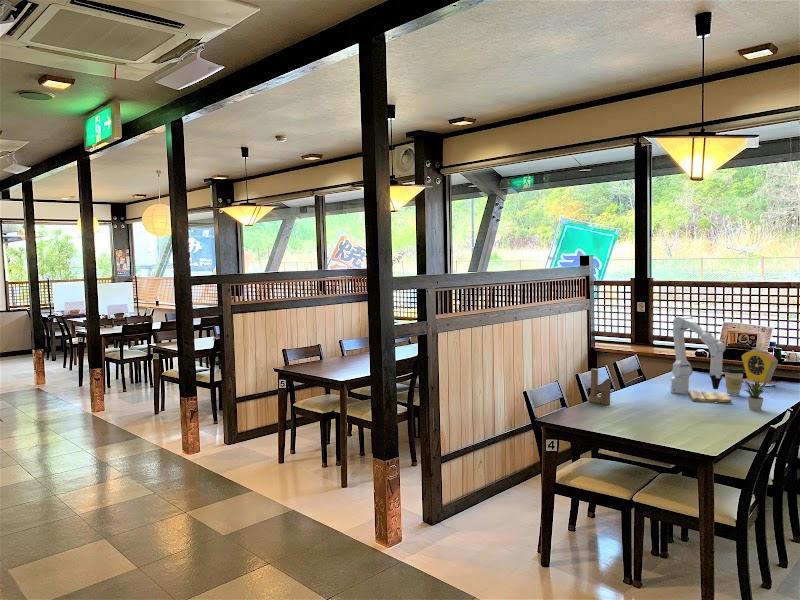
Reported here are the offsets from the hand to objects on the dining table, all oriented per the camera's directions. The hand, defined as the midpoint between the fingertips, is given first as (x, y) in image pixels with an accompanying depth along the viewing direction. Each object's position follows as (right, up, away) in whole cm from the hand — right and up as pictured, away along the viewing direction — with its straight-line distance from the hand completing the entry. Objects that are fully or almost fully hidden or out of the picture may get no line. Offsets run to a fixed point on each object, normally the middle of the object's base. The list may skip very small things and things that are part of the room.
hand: (715, 388), depth 325 cm
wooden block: (-64, -7, -4) cm, 65 cm away
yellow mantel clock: (+50, -4, +44) cm, 66 cm away
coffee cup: (+18, -6, +15) cm, 24 cm away
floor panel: (0, -6, +5) cm, 8 cm away
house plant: (+11, -8, -20) cm, 24 cm away
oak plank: (+1, -6, 0) cm, 6 cm away
